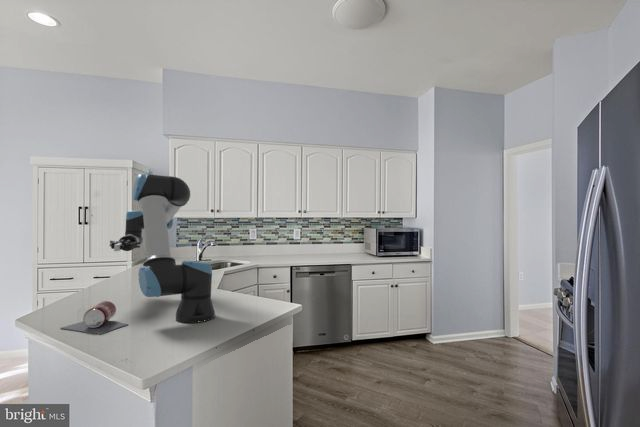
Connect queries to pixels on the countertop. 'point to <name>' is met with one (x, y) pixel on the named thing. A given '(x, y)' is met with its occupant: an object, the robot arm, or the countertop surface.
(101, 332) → the mat
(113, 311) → the soda can
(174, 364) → the countertop surface
